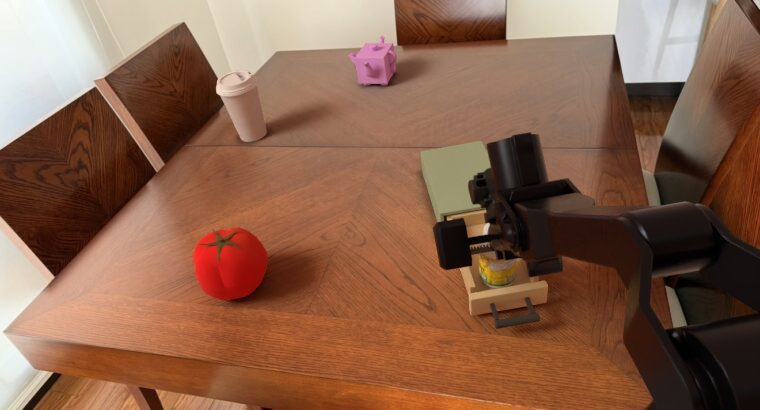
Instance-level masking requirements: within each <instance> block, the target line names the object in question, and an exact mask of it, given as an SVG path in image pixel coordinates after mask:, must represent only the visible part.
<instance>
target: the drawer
mask: <svg viewBox="0 0 760 410" xmlns="http://www.w3.org/2000/svg"><path fill="white" fill-rule="evenodd" d="M484 213H486V209H483V210H477V211H472V212H466V213H460V214H454V215H448V216H447V220H453V219H459V218H464V221H465V224H466V228H467V234H468V238H469V237H474V236H480V235H483V230H484V227H485V225H486V224H487V223H485V218H484ZM477 246H479V244H475V245H470V249H471V247H473V249H474V247H476V248H477ZM459 270H460V273H461V277H462V280H463V282H464V285H465V289H466V293H467V296H468V310H469V314H470V316H471V317H472V316H478V315H484V314H490V313H491V314H492V316H493V320H494V321H493V324H494V327H495V329H496V330H499V329H505V328H511V327H516V326H522V325H528V324H533V323H539V322H541V316H540V314H539V312H536V309H535V308H534V306H535V305H541V304H546V303H547V301H548V292H549V285H548V282H547V281H546V280H540V276H536V277H529V276H528V272H527V267H526V262H525V261H524V260H523V259H522V258H518V259H517V261H516V278H515V281H514V282H513V283H512V284H511V285H510V286H508V287H504V288H498V289H494V288H491V287H488V286H487V285H485V284H484V283H483V282H482V281H481V279H480V276H479V254H475V255H472V266H469V267H463V268H459ZM539 280H540V281H539ZM523 307H524V308H525V307H527V309H528V312H529V313H527V314H522V315H516V316H510V317H509V316H508V317H504V318H500V316H499V312H502V311H508V310H512V309H518V308H523Z"/></svg>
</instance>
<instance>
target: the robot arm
mask: <svg viewBox="0 0 760 410" xmlns="http://www.w3.org/2000/svg"><path fill="white" fill-rule="evenodd" d="M485 148H486V150H487V152H488V157H489V162H490V167H491V168H488V169H486V170H485V171H484V172H480V173H477V175H474V176H473V178H474V179H473V180H469V182H468V190H469V194H470V198H471V202H472V204H473V205H476V204H479V205H481V208H486V213H484V218H485V223H489V224H490V226H489V228H488V234H486V235H480V236H474V237H469V238H468V234H467V228H466V224H465V221H464V218H459V219H453V220H447V221H441V222H437V221H436V223H435V224H434V225H433V227H432V231H433V237H434V242H435V249H436V252H437V260H438V265H439V267H440V268H441V269H443V270H444V271H451V270H457V269H460V268H463V267H469V266H472V255H475V254H481V253H487V252H493V251H495V255H496V260H502V259H504V260H512V259H518V258H522V259H523V260H524V261H525V262H526V267H527V272H528V276H529V277H536V276H539V277H542V276H549V275H553V274H558V273H562V272H564V262H563V257H564V258H567V259H573V260H575V261H578V262H579V261H580V262H583V263H587V264H590V265H595V266H598V267H602V268H606V269H609V270H613V271H615V272H616V273H617V275H618V276H619V279H620V280H621V281H622V283H623V286H624V287H625V289H626V290H627V293H626V303H625V312H624V322H623V323H624V324H623V331H622V332H623V333H622V334H623V335H622V341H623V345H624V347H625V349H626V351H627V352H628V355H629V356H630V358H631V360H632V362H633V364H634V366H635V368H636V370H637V372H638V373H639V376H640V377H641V379H642V381H643V383H644V385H645V386H646V389H647V391H648V392H649V395H650V396H651V398H652V400H651V401H650V402H648V404H646V406H645V407H643V409H642V410H760V248H758V247H756V246H754V245H752V244H750V243H749V242H746V241H745V240H743V239H741V238H739V237H737V236H736V235H734V234H733V233H732V231H730V230H729V228H728V227H727V226H726V225H725V223H724V222H723V221H722V220H721V219H720V217H719V216H718V215H717V214H716V213H715V212H714V211H713V210H712V209H711V208H710V207H708V205H705V204H702V203H693V202H690V201H680V202H674V203H673V202H672V203H667V204H663V205H596V201H595V198H593V197H591V196H589V195H586V194H583V193H582V192H581V191H580V190H579V188H578V187H577V186H576V185H575V184H574V183H573V182H572V181H571V179H570V178H569V177H565V178H559V179H555V180H549V175H548V170H547V166H546V165H547V164H546V163H545V162H546V161H545V156H544V151H543V147H542V142H541V137H540V134H537V133H532V132H531V131H529V132H524V133H523V132H522V133H518V134H512V135H511V136H510V137H506V138H502V139H500V140H497V141H492V142H491V141H490V142H488V143H486V146H485ZM487 242H489V243H490V244H489V246H488V244H486V247H485V245H483V247H482V246H480V248H479V246H477V248H476V247H474V249H473V247H471V249H470V245H475V244H481V243H487ZM693 272H698V274H699V275H700V276H701V277H702V278H703V279H704V280H705V281H706V282H708V283H709V284H710V285H712V286H714V287H716V288H718V289H719V290H720V291H723V292H724V293H726V294H728V295H729V296H731V297H732V298H734V299H736V300H738V301H739V302H740V303H742V304H744V305H745V306H747V307H748V308H750V309H752V310H754V311H756V313H750V314H745V315H738V316H733V317H727V318H722V319H715V320H710V321H704V322H700V323H692V324H687V325H682V326H675V327H671V328H666V329H665V327H664V325H663V324H662V322H661V320H660V319H659V317H658V316H657V314H656V312H655V310H654V309H653V308H652V306H651V296H652V295H651V294H652V280H653V279H657V278H664V277H671V276H675V275H676V276H677V275H681V274H687V273H693Z"/></svg>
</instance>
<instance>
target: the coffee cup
mask: <svg viewBox="0 0 760 410" xmlns="http://www.w3.org/2000/svg"><path fill="white" fill-rule="evenodd" d="M258 84H259V81H258V79H257V77H256V76H255V75H254V74H253V73H252V72H251V71H250V70H246V69H240V70H239V69H238V70H233V71H230V72H229V71H228V72H227V73H224V74H223V75H221V76H220V77H218V79H217V81H216V86H215V91H216V92H215V93H216V94H217V95H218V96H220V98H221V100H222V102H223V104H224V107H225V109H226V111H227V113H228V115H229V117H230V119H231V121H232V123H233V125H234V127H235V129H236V131H237V134H238V136H239V138H240V140H241V141H243V142H245V143H252V142H256V141H259V140H261V139H262V138H264V137H265V136H266V135H267V134H268V131H267V127H266V126H267V125H266V121H265V118H264V113H263V112H264V111H263V107H262V104H261V99H260V95H259V89H258Z"/></svg>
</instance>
